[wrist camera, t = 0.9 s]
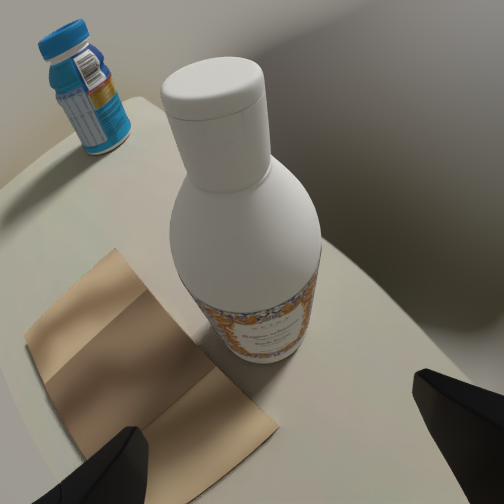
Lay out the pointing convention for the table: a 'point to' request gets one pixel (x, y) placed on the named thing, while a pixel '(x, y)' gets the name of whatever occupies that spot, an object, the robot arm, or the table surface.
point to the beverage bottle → (85, 88)
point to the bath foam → (239, 212)
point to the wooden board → (142, 383)
